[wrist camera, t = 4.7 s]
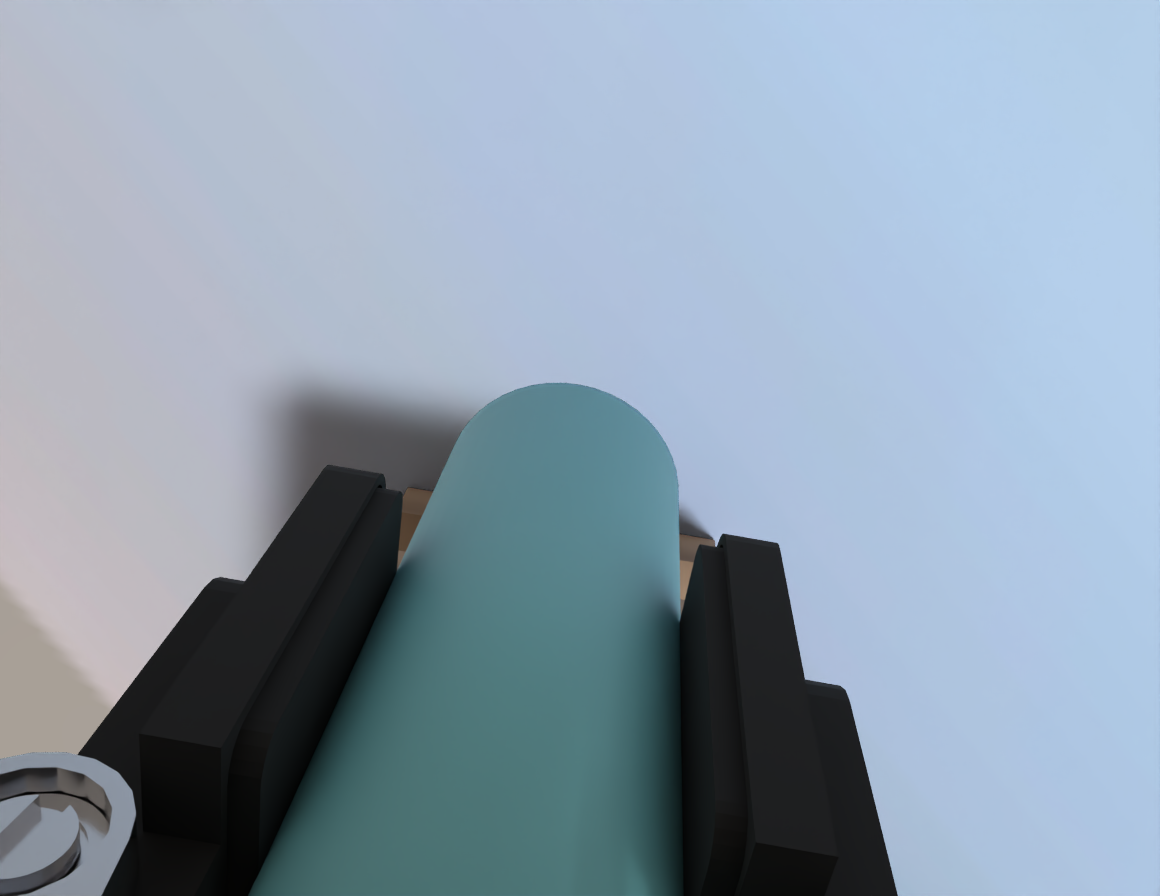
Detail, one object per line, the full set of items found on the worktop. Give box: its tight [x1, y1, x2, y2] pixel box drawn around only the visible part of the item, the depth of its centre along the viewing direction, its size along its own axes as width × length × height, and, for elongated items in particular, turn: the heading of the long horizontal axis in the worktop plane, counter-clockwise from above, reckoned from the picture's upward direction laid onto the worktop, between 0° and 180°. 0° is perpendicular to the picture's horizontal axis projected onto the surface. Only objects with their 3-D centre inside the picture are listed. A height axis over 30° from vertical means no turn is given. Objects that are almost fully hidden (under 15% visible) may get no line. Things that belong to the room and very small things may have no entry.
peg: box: [248, 383, 684, 896], centre depth 9 cm, size 3×3×10 cm
